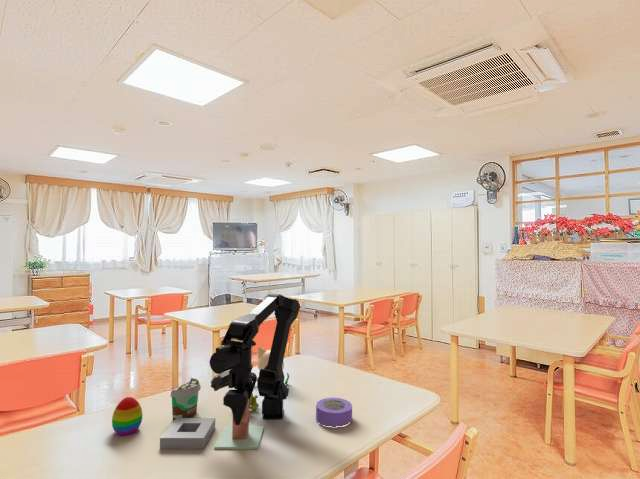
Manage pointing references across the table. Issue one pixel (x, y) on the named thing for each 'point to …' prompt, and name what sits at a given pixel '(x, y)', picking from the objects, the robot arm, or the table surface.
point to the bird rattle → (253, 402)
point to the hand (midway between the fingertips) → (240, 417)
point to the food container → (185, 399)
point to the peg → (241, 426)
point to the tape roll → (333, 412)
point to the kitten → (266, 360)
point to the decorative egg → (127, 416)
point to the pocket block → (188, 433)
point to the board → (249, 443)
